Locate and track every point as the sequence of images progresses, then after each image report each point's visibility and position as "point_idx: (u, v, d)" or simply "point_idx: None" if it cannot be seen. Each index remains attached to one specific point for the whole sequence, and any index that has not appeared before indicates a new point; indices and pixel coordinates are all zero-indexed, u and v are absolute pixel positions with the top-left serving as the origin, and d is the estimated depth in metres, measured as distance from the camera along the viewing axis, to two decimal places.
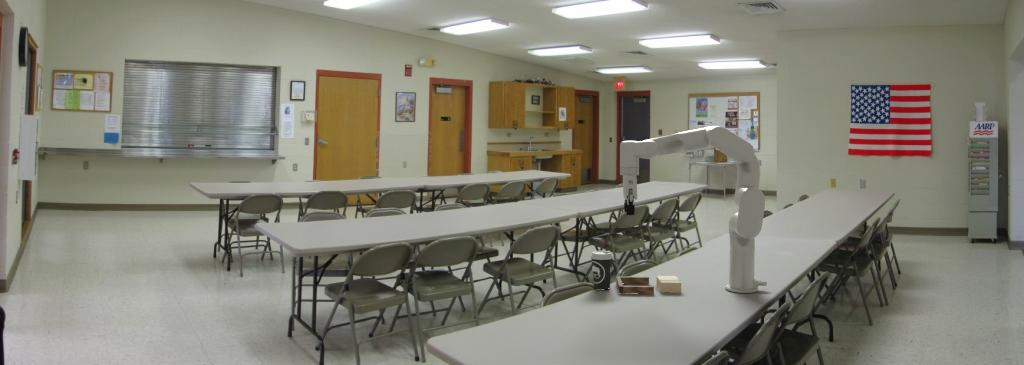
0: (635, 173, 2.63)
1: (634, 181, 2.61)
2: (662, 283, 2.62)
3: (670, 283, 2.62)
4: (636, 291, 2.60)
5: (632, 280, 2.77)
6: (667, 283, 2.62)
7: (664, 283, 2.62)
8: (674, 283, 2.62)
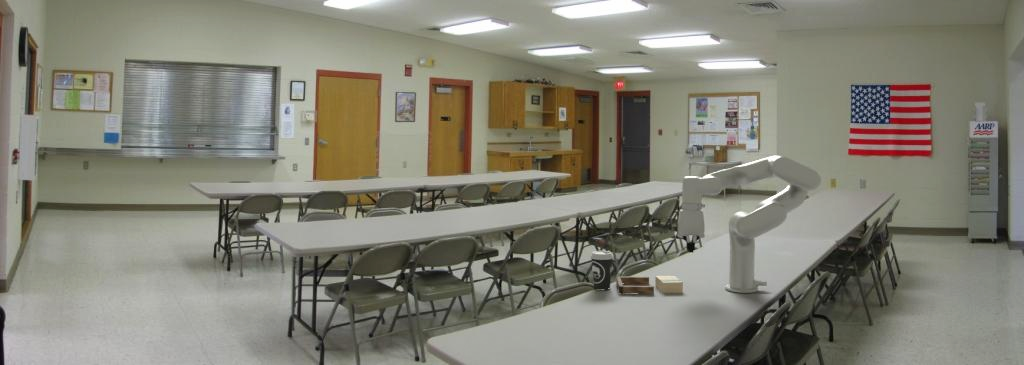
0: None
1: None
2: (664, 283, 2.62)
3: (672, 283, 2.62)
4: (636, 291, 2.60)
5: (632, 280, 2.77)
6: (669, 283, 2.62)
7: (666, 283, 2.62)
8: (676, 283, 2.62)
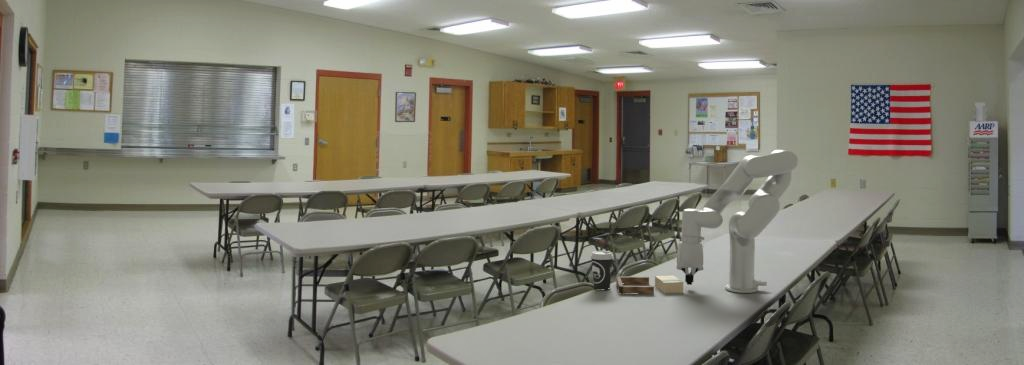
0: None
1: None
2: (665, 283, 2.62)
3: (672, 283, 2.62)
4: (636, 291, 2.60)
5: (632, 280, 2.77)
6: (670, 283, 2.62)
7: (667, 283, 2.62)
8: (676, 283, 2.62)
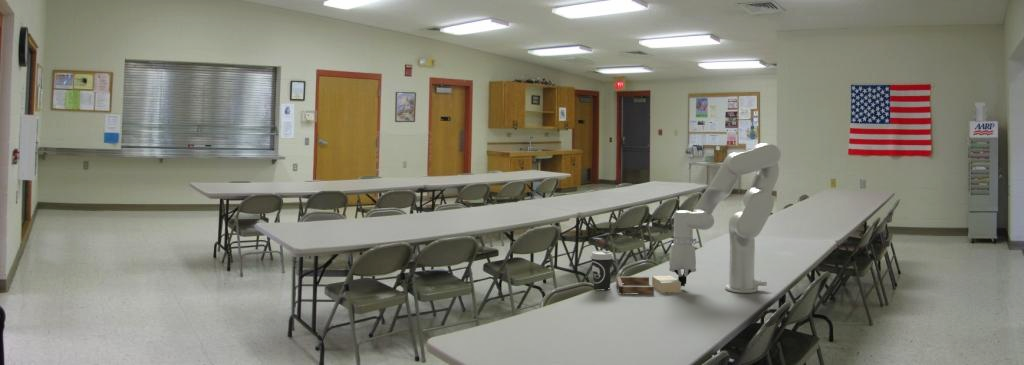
0: None
1: None
2: (663, 283, 2.62)
3: (670, 283, 2.62)
4: (636, 291, 2.60)
5: (632, 280, 2.77)
6: (667, 283, 2.62)
7: (664, 283, 2.62)
8: (674, 283, 2.62)
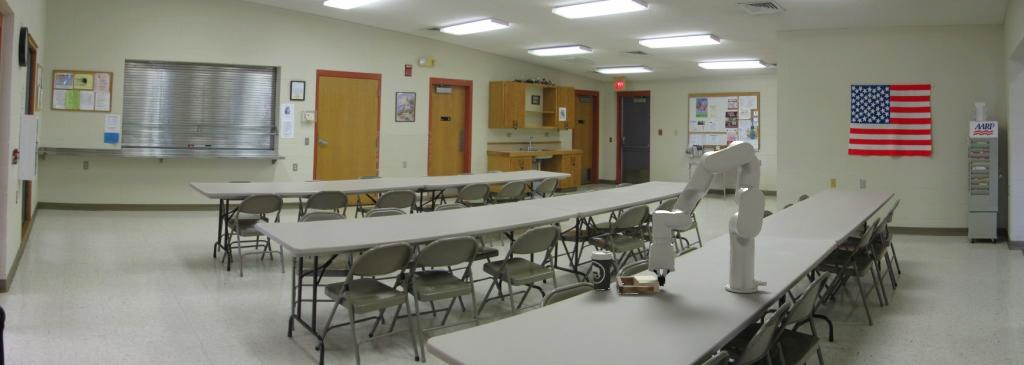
0: None
1: None
2: (640, 283, 2.63)
3: (648, 283, 2.63)
4: (636, 291, 2.60)
5: (632, 280, 2.77)
6: (645, 283, 2.63)
7: (642, 283, 2.63)
8: (652, 283, 2.63)
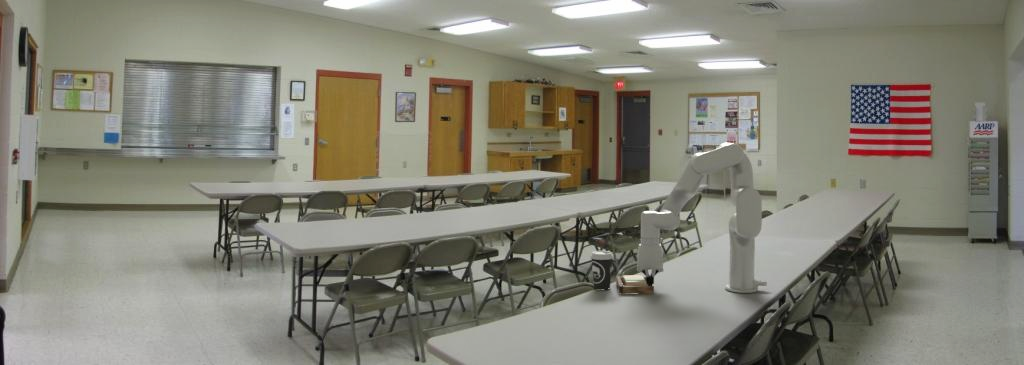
0: None
1: None
2: (627, 283, 2.64)
3: (635, 283, 2.63)
4: (636, 291, 2.60)
5: None
6: (632, 283, 2.63)
7: (629, 283, 2.64)
8: (639, 283, 2.63)
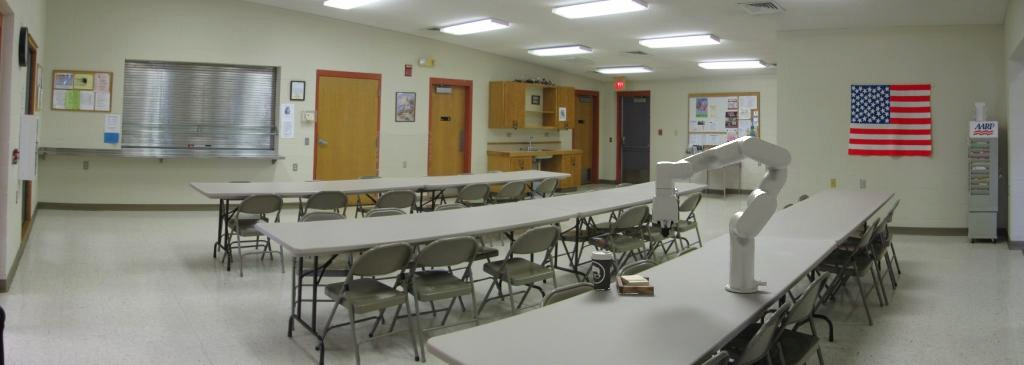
0: None
1: None
2: (631, 283, 2.63)
3: (638, 283, 2.63)
4: (636, 291, 2.60)
5: None
6: (636, 283, 2.63)
7: (633, 283, 2.63)
8: (642, 282, 2.64)
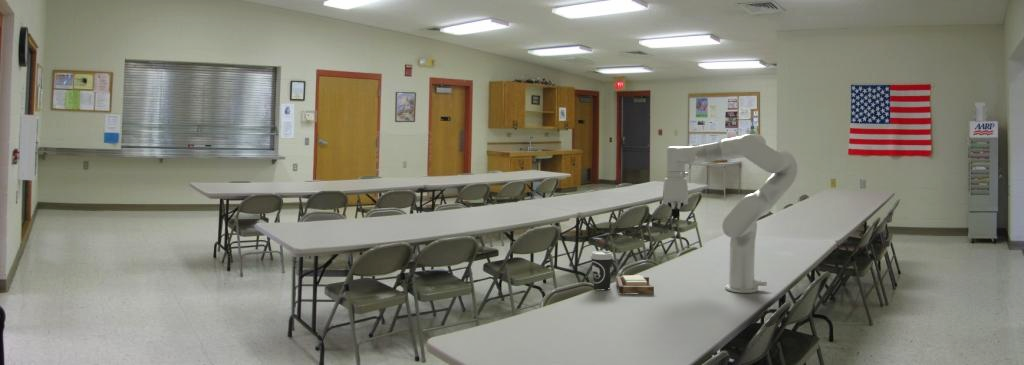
0: None
1: None
2: (628, 283, 2.63)
3: (636, 283, 2.63)
4: (636, 291, 2.60)
5: None
6: (633, 283, 2.63)
7: (630, 283, 2.63)
8: (640, 282, 2.63)
